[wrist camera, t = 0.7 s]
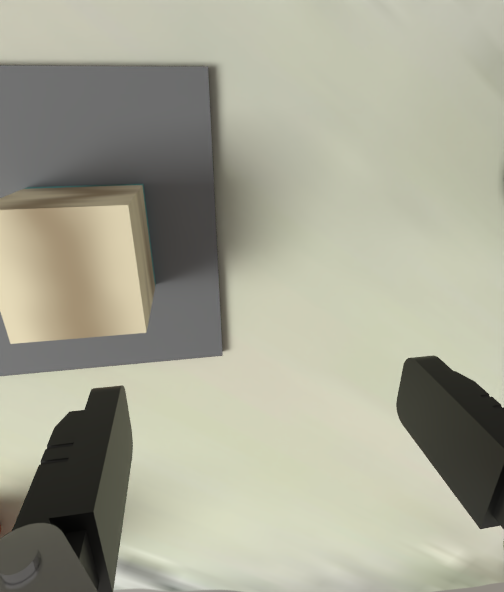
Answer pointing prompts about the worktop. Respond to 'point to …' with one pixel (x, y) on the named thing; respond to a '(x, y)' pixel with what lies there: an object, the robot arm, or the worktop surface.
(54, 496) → the robot arm
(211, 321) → the rubber mat
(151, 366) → the worktop surface
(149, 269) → the birch cube
